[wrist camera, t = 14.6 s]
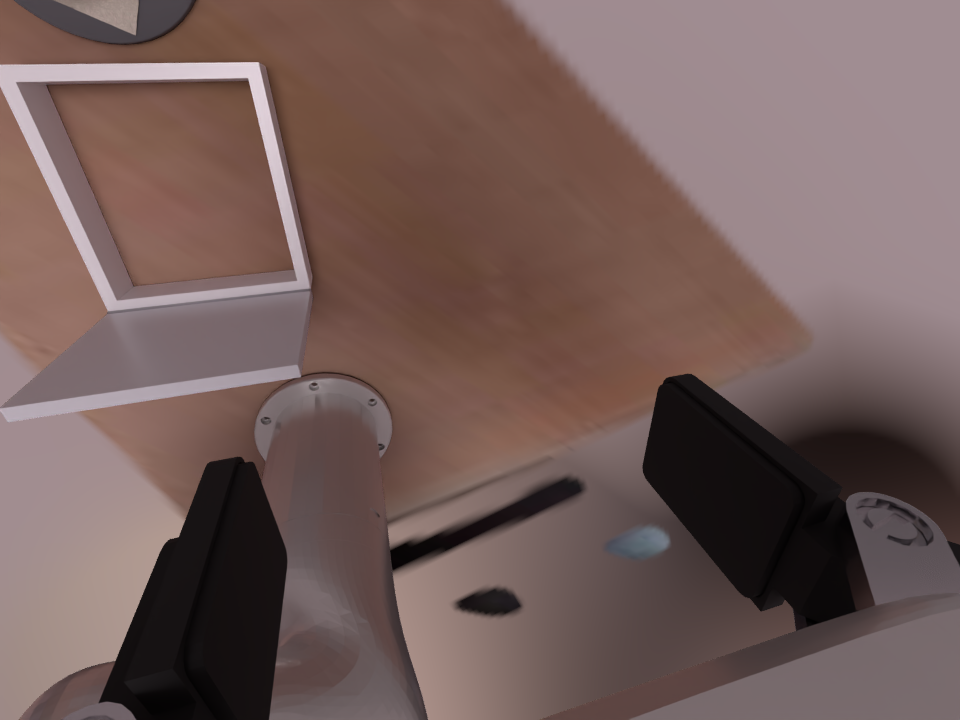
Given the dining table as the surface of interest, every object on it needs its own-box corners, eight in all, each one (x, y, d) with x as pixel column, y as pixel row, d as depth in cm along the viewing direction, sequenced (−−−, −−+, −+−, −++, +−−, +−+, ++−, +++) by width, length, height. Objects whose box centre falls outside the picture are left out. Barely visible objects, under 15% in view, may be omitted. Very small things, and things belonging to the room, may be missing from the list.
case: (315, 287, 37) (301, 378, 25) (130, 308, 34) (9, 423, 22) (265, 66, 30) (209, 34, 17) (23, 69, 27) (-262, 32, 14)
